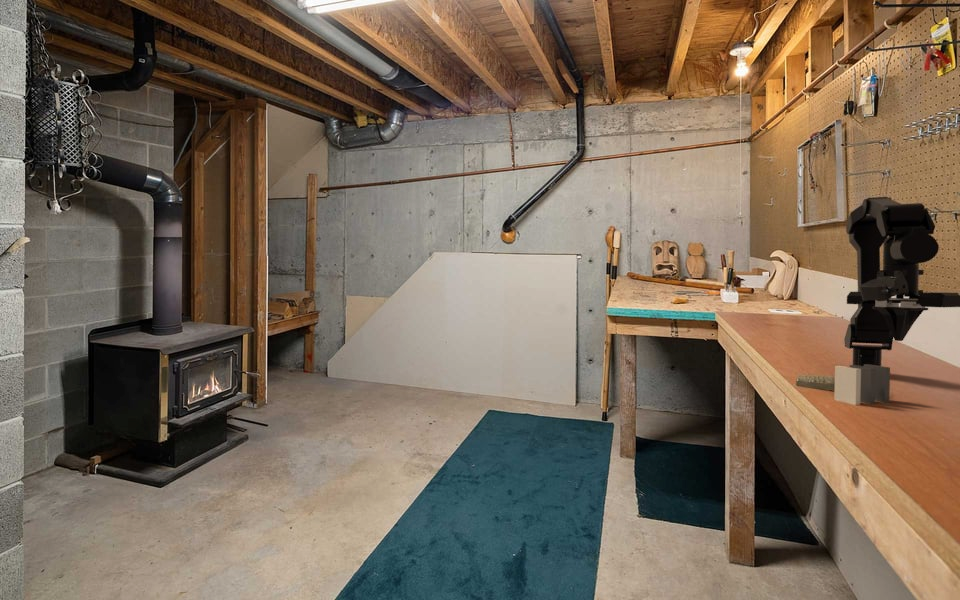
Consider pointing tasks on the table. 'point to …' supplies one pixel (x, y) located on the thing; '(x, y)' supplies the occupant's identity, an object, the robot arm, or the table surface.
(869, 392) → the domino
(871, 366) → the domino
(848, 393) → the end domino
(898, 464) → the table surface
